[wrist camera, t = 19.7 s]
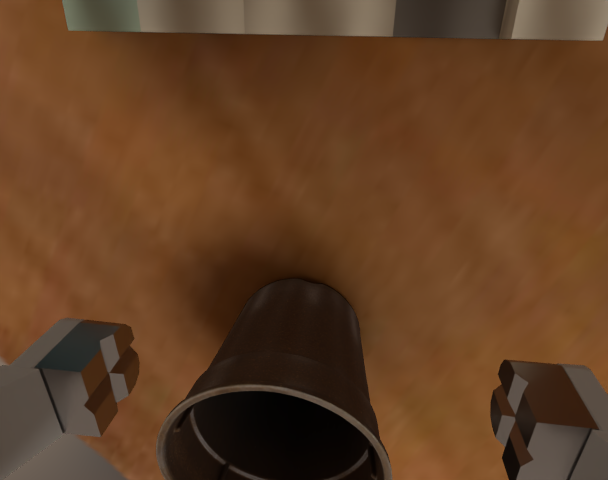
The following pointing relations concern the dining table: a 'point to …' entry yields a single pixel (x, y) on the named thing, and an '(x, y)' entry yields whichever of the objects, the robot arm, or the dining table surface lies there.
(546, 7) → the wooden cutout board
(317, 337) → the plant pot
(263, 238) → the dining table surface
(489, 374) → the dining table surface
